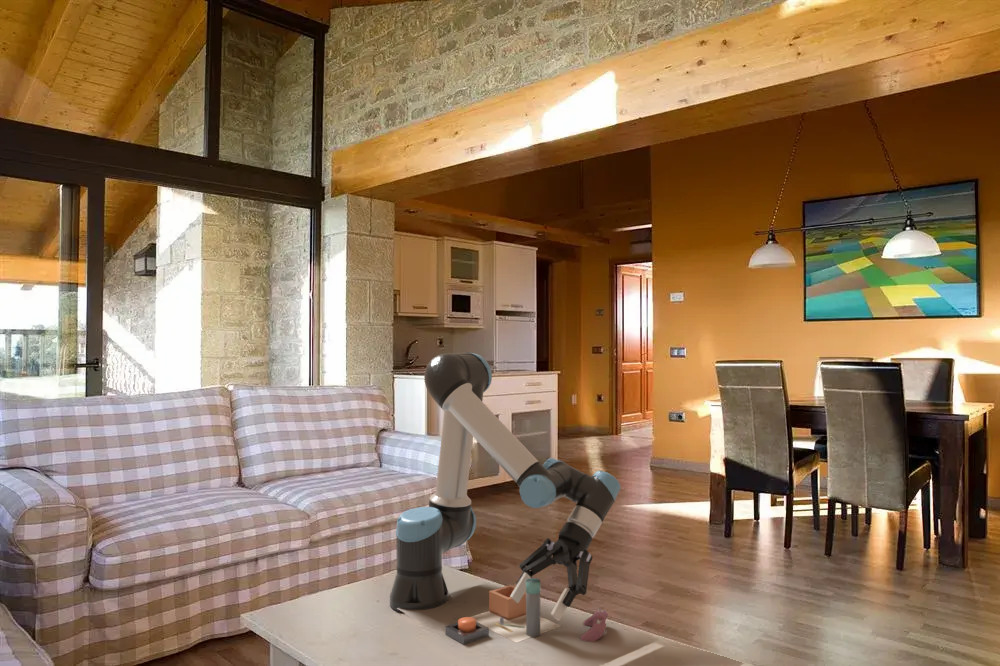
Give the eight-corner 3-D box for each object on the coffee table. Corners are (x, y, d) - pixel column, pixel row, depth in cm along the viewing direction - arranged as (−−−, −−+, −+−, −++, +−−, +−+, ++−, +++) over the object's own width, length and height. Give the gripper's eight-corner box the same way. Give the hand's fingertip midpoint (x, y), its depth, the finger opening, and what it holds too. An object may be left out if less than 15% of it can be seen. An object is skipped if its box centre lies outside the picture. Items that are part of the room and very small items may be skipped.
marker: (523, 633, 160) (522, 580, 160) (533, 629, 162) (533, 577, 162) (532, 638, 157) (532, 584, 157) (543, 634, 159) (543, 581, 159)
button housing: (445, 639, 159) (445, 626, 159) (470, 631, 164) (470, 618, 164) (463, 650, 154) (463, 636, 154) (488, 641, 158) (488, 628, 158)
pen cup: (489, 611, 173) (489, 591, 173) (511, 604, 177) (511, 584, 177) (508, 620, 167) (507, 599, 167) (530, 613, 172) (530, 592, 172)
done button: (454, 628, 159) (454, 620, 159) (468, 624, 162) (468, 615, 162) (465, 634, 156) (465, 625, 156) (479, 629, 159) (479, 621, 159)
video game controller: (596, 654, 155) (610, 627, 155) (577, 643, 156) (592, 616, 156) (598, 635, 165) (612, 610, 164) (581, 625, 166) (594, 600, 165)
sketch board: (461, 622, 169) (461, 617, 169) (512, 606, 179) (512, 601, 179) (515, 650, 153) (515, 645, 153) (567, 631, 164) (567, 626, 164)
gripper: (627, 550, 161) (582, 634, 151) (551, 528, 180) (507, 601, 170) (611, 531, 157) (564, 616, 148) (536, 511, 176) (489, 584, 167)
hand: (533, 608), depth 159 cm, fingers open, 13 cm apart
